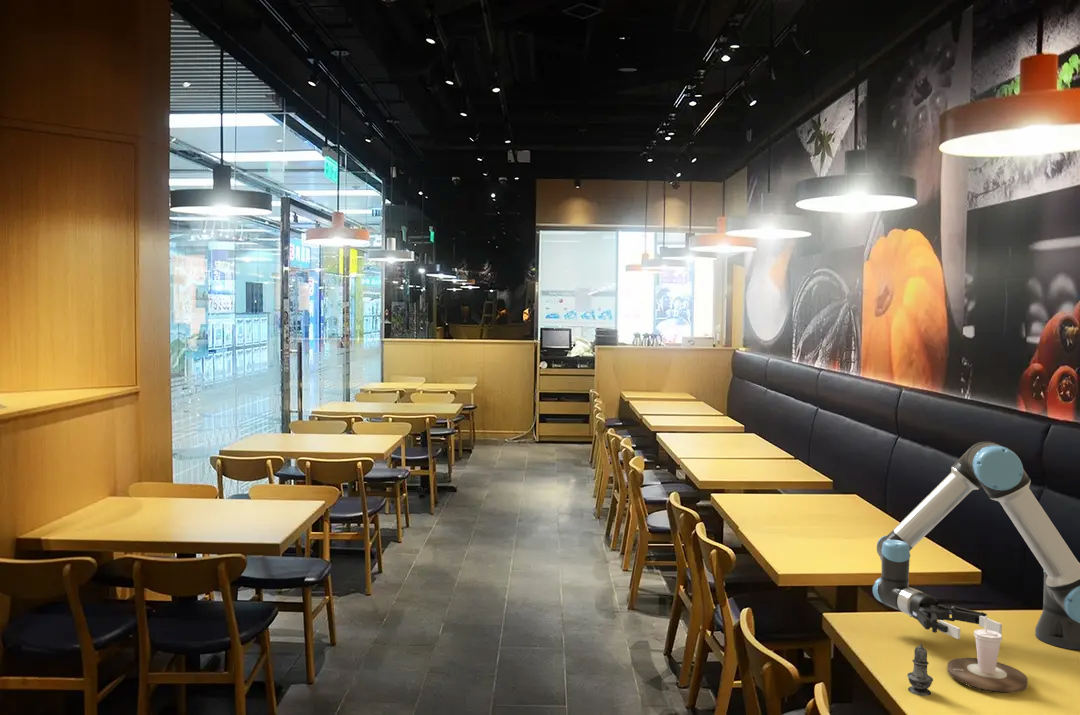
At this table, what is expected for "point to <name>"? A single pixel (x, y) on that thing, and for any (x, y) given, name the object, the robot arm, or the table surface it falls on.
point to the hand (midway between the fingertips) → (980, 631)
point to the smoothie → (987, 648)
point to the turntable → (987, 676)
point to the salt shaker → (920, 673)
